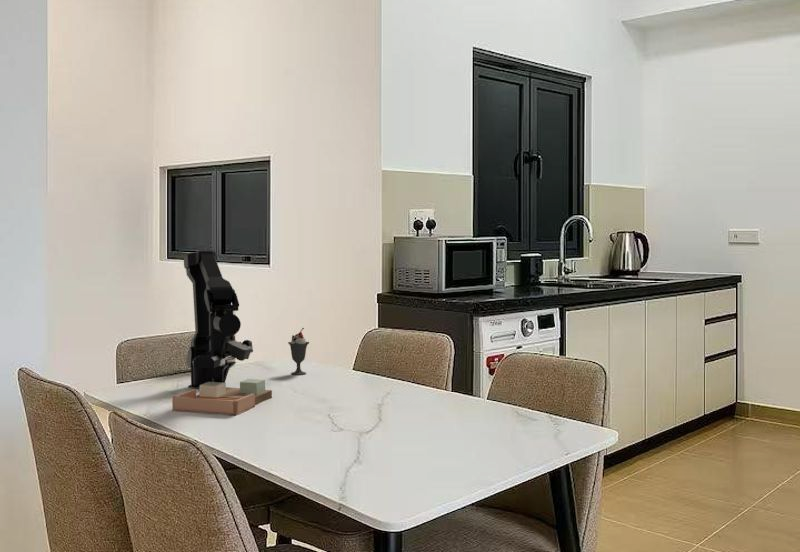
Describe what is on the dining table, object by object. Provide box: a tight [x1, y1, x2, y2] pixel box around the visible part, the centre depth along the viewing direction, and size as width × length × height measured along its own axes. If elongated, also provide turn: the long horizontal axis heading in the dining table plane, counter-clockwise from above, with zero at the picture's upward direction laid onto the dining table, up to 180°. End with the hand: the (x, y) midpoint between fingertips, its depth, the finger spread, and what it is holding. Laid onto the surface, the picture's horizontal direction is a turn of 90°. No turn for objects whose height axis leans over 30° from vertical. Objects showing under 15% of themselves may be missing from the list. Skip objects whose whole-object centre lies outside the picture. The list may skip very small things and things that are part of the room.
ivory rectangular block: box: [199, 382, 227, 398], centre depth 209 cm, size 5×5×3 cm
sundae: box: [287, 327, 310, 376], centre depth 252 cm, size 7×7×15 cm
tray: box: [171, 388, 256, 416], centre depth 202 cm, size 18×10×4 cm, turn 73°
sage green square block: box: [239, 378, 266, 394], centre depth 214 cm, size 5×5×3 cm
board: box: [196, 386, 273, 406], centre depth 212 cm, size 16×12×2 cm
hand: (220, 388), depth 213 cm, fingers closed
